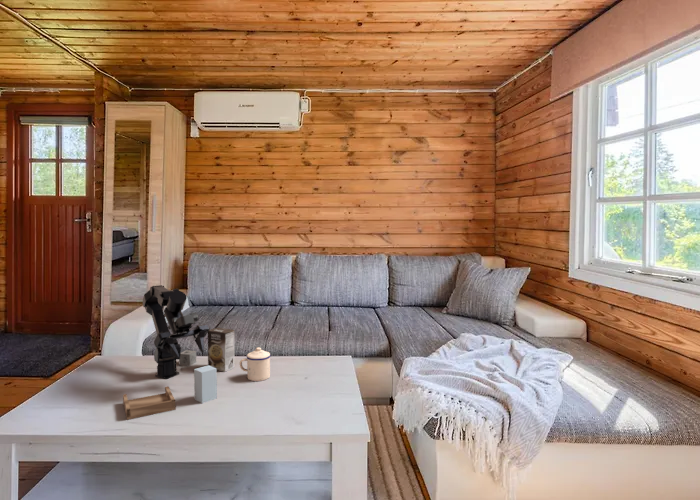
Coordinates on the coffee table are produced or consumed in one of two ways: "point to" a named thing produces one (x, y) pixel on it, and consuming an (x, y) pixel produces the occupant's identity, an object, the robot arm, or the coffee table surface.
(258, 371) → the teacup with lid
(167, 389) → the tray
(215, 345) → the coffee box
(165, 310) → the robot arm
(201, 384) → the tall block
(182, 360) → the dice cube
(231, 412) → the coffee table surface
